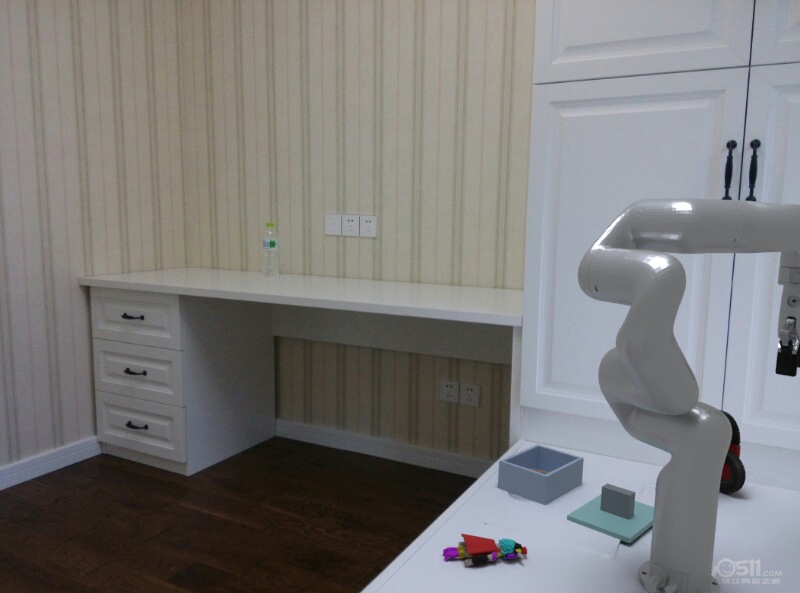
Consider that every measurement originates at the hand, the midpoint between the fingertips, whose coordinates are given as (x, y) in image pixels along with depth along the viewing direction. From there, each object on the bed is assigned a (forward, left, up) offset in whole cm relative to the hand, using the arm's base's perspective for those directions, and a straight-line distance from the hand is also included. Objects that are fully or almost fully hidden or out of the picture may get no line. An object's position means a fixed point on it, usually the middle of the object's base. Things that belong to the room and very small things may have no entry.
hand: (792, 371), depth 119 cm
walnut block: (-12, +44, -34) cm, 57 cm away
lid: (-11, +26, -35) cm, 45 cm away
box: (-9, +45, -34) cm, 57 cm away
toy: (-42, +36, -35) cm, 66 cm away
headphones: (+16, +18, -35) cm, 42 cm away
